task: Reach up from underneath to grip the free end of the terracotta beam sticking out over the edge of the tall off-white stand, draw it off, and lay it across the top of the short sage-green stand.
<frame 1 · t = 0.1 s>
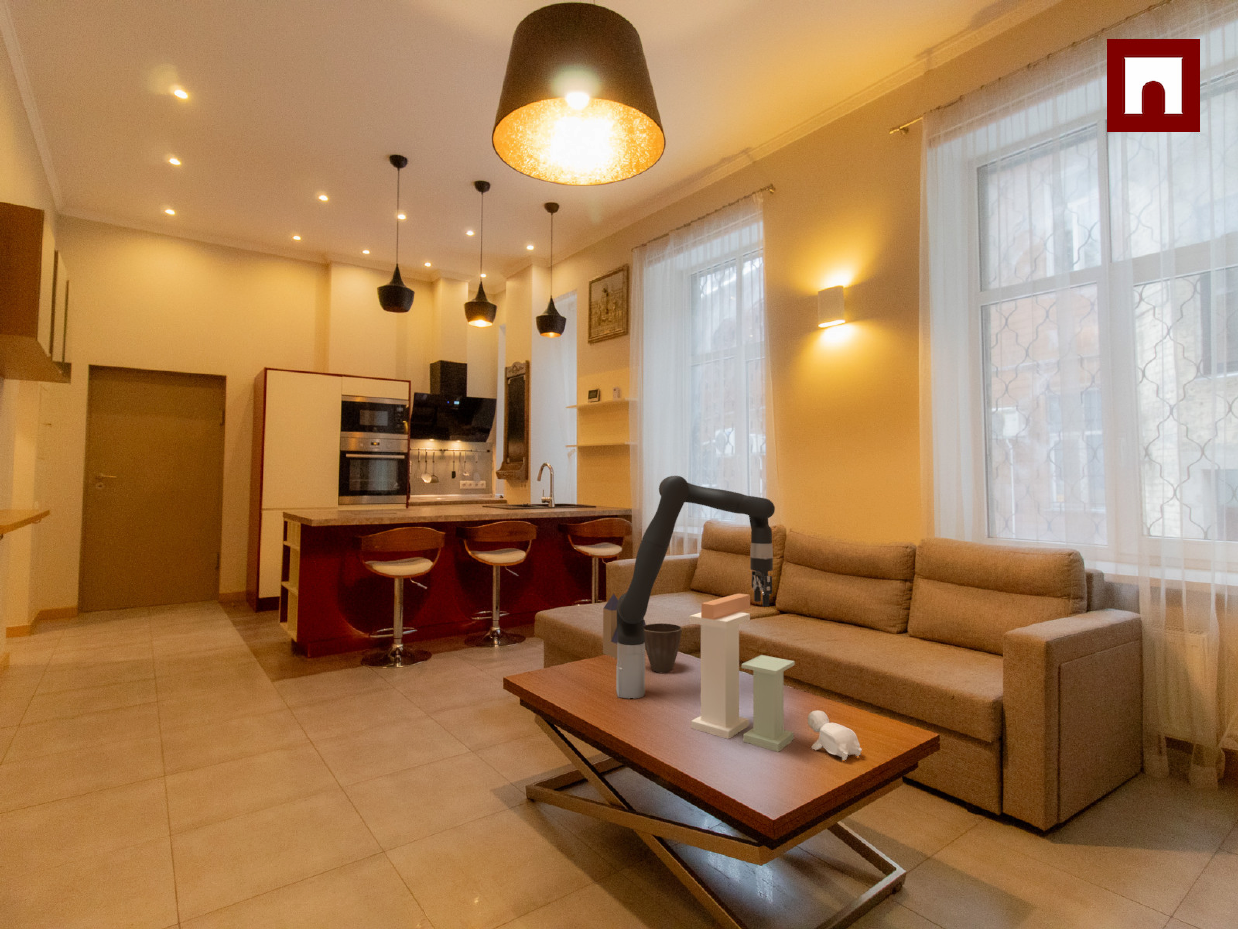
hand: (761, 604, 208), 29 cm above the table, tool pointing down, fingers open, 8 cm apart
short stand: (768, 740, 166), on the table
white turtle figurine: (831, 751, 160), on the table
toy building blocks: (630, 654, 253), on the table
tall stand: (720, 727, 175), on the table
plant pot: (661, 670, 230), on the table
beam: (726, 612, 179), point 32 cm above the table, touching tall stand
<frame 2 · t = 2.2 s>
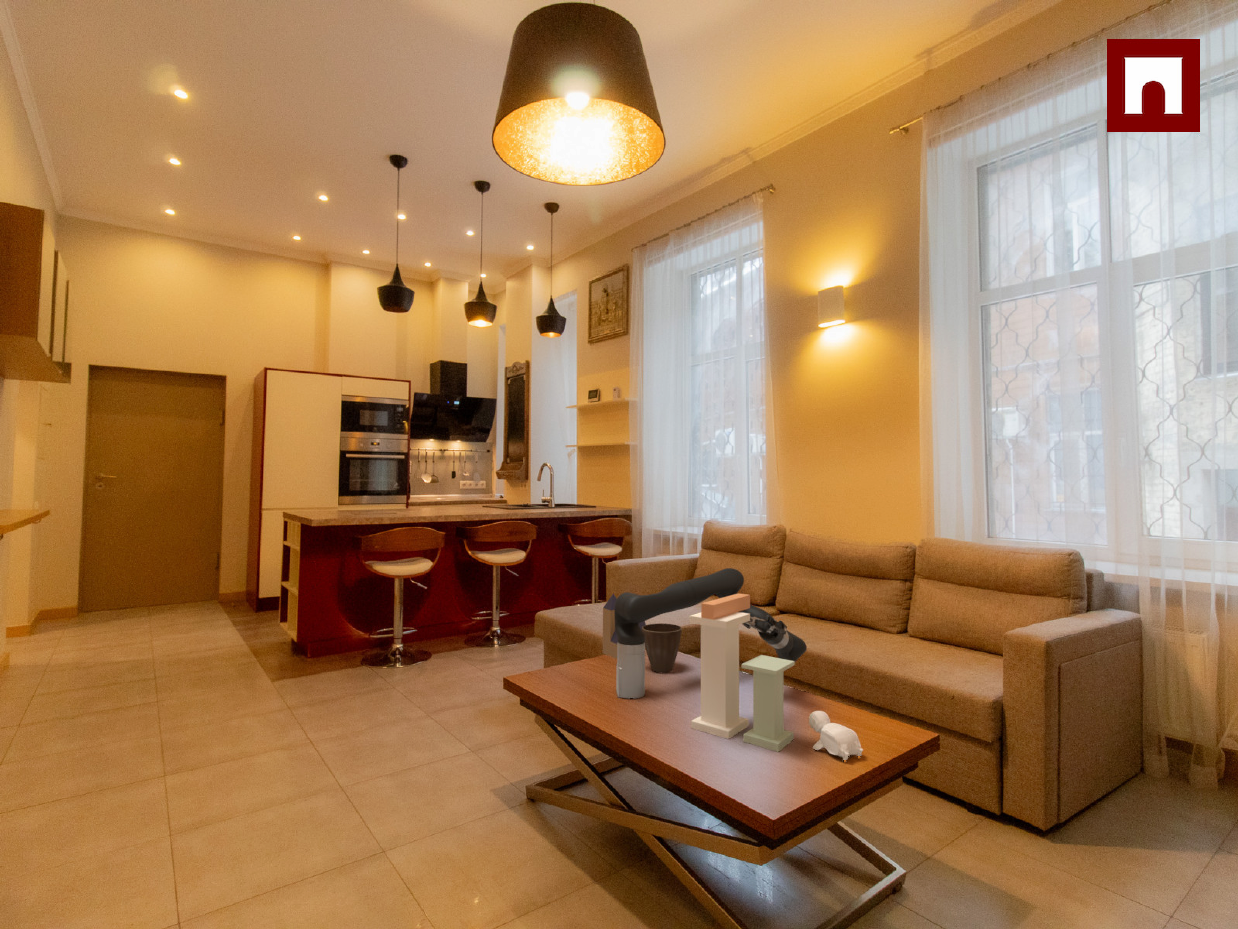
hand: (754, 616, 193), 28 cm above the table, tool pointing upward, fingers open, 8 cm apart
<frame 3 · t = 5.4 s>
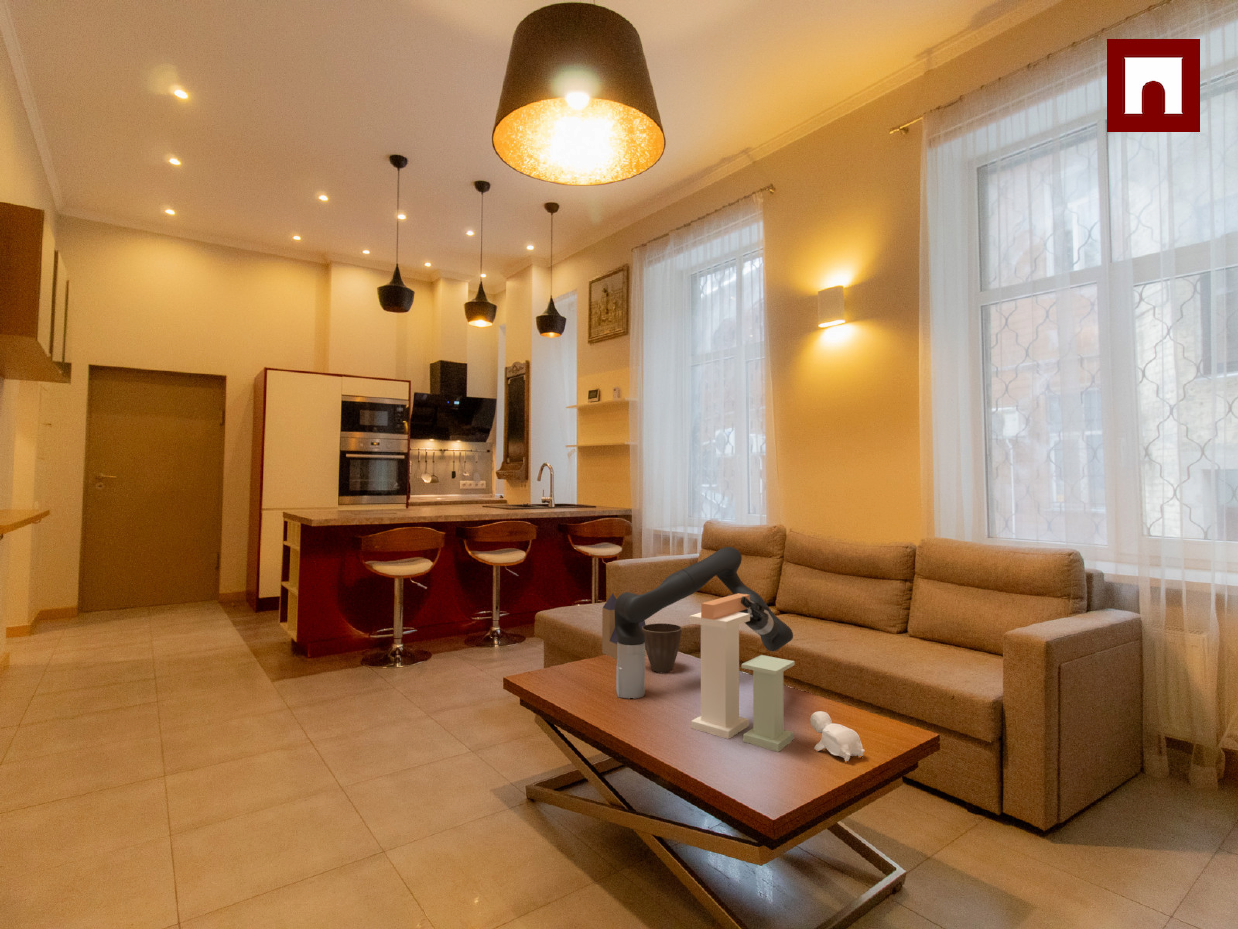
hand: (735, 598, 184), 35 cm above the table, tool pointing upward, fingers closed on beam, 4 cm apart
beam: (726, 612, 179), point 32 cm above the table, touching gripper, tall stand
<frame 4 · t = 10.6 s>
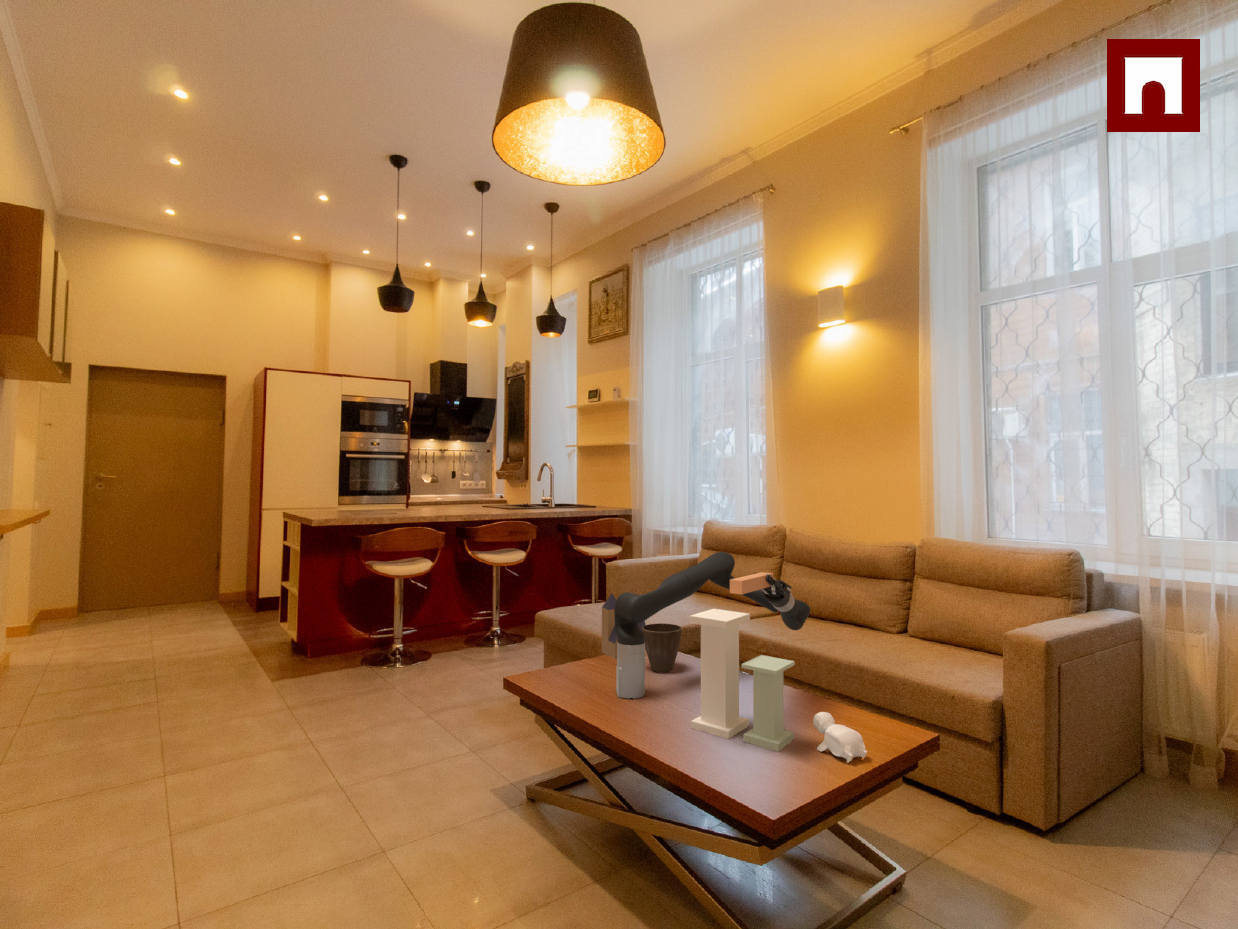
hand: (760, 576, 195), 41 cm above the table, tool pointing upward, fingers closed on beam, 4 cm apart
beam: (752, 589, 191), point 37 cm above the table, touching gripper
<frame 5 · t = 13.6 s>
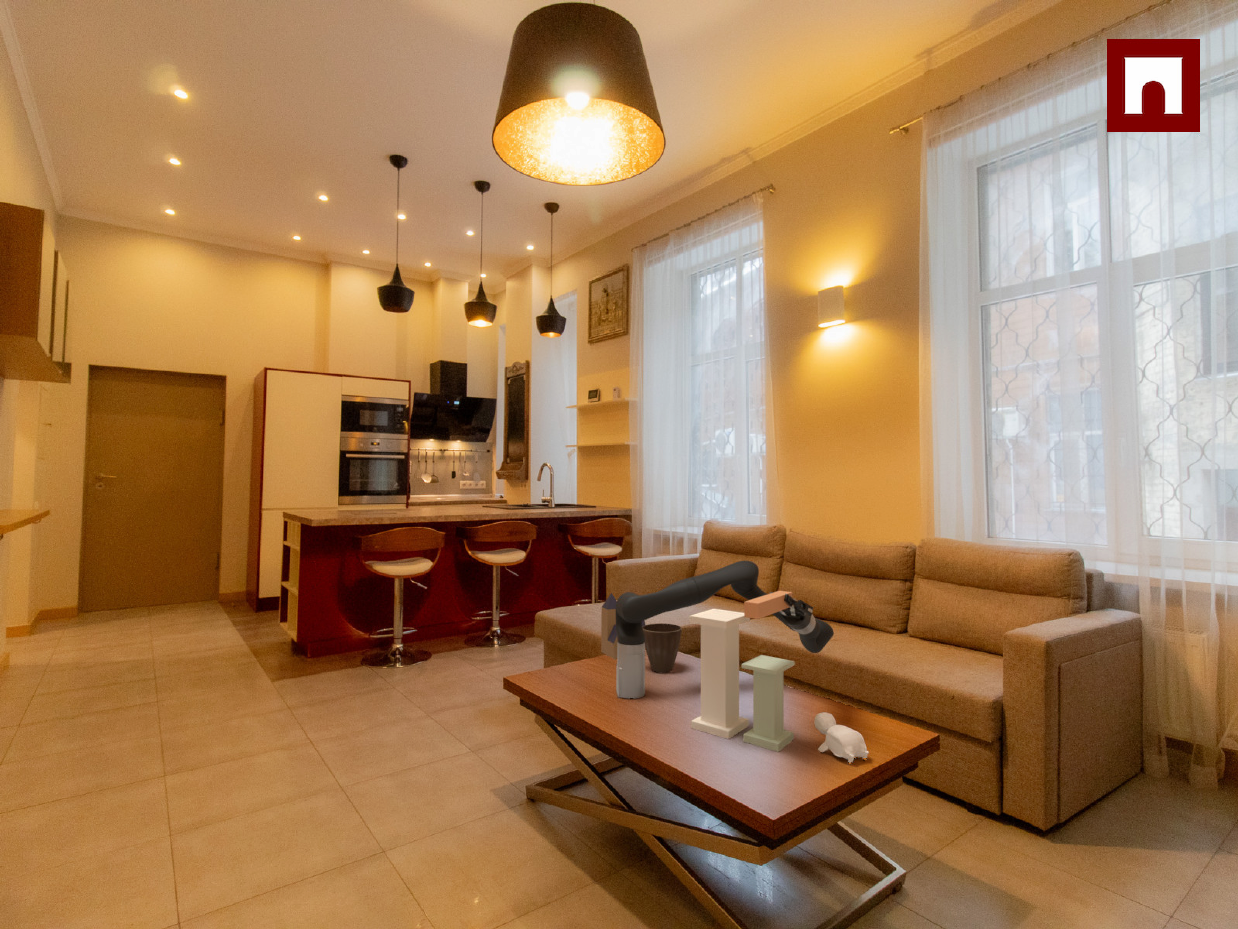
hand: (778, 596, 172), 38 cm above the table, tool pointing upward, fingers closed on beam, 4 cm apart
beam: (769, 611, 168), point 35 cm above the table, touching gripper
when the fingers open (26 cm above the table, at t = 16.1 s): beam drops 1 cm, resting on short stand.
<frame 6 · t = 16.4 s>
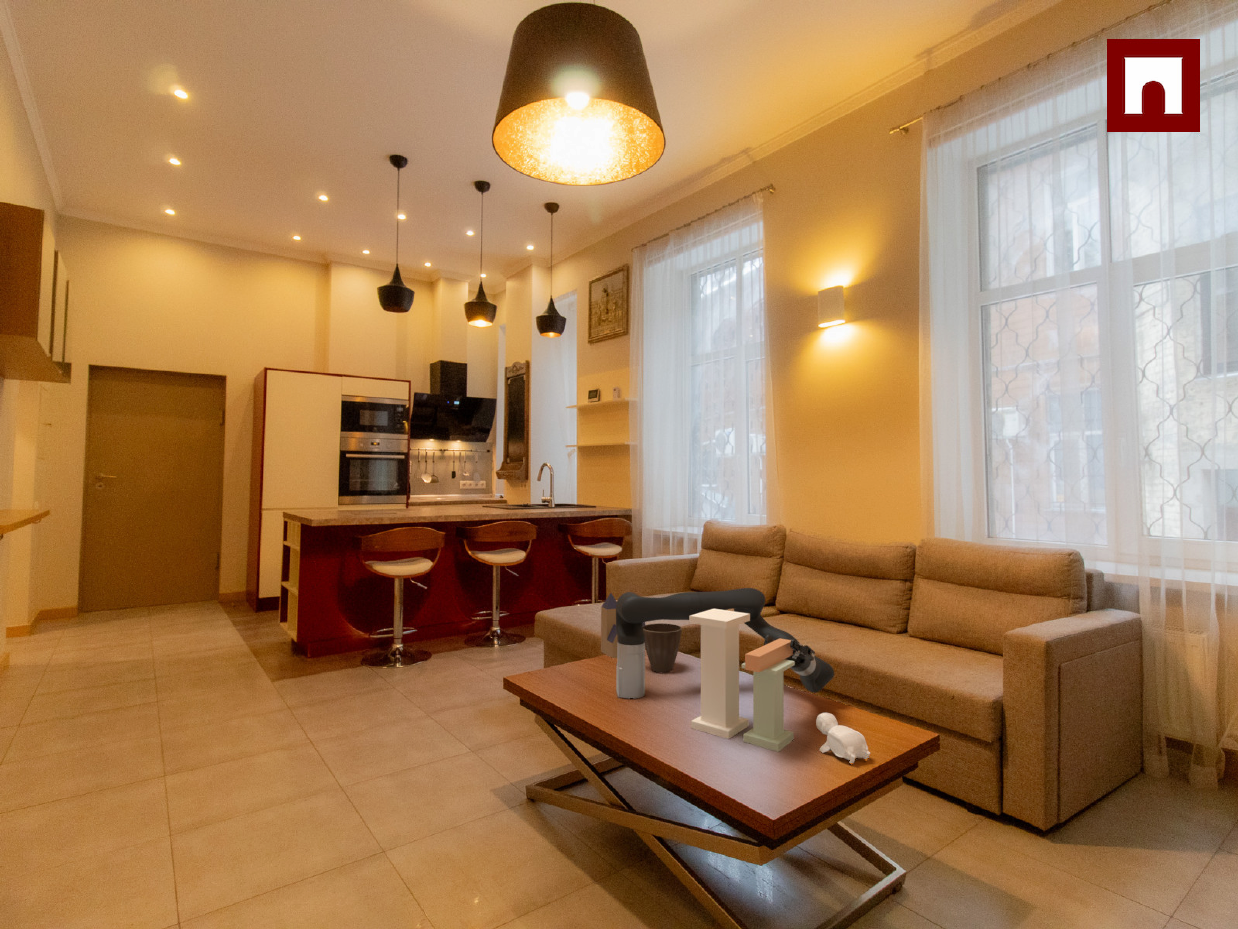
hand: (779, 640, 172), 26 cm above the table, tool pointing upward, fingers open, 7 cm apart
beam: (770, 661, 167), point 21 cm above the table, touching short stand
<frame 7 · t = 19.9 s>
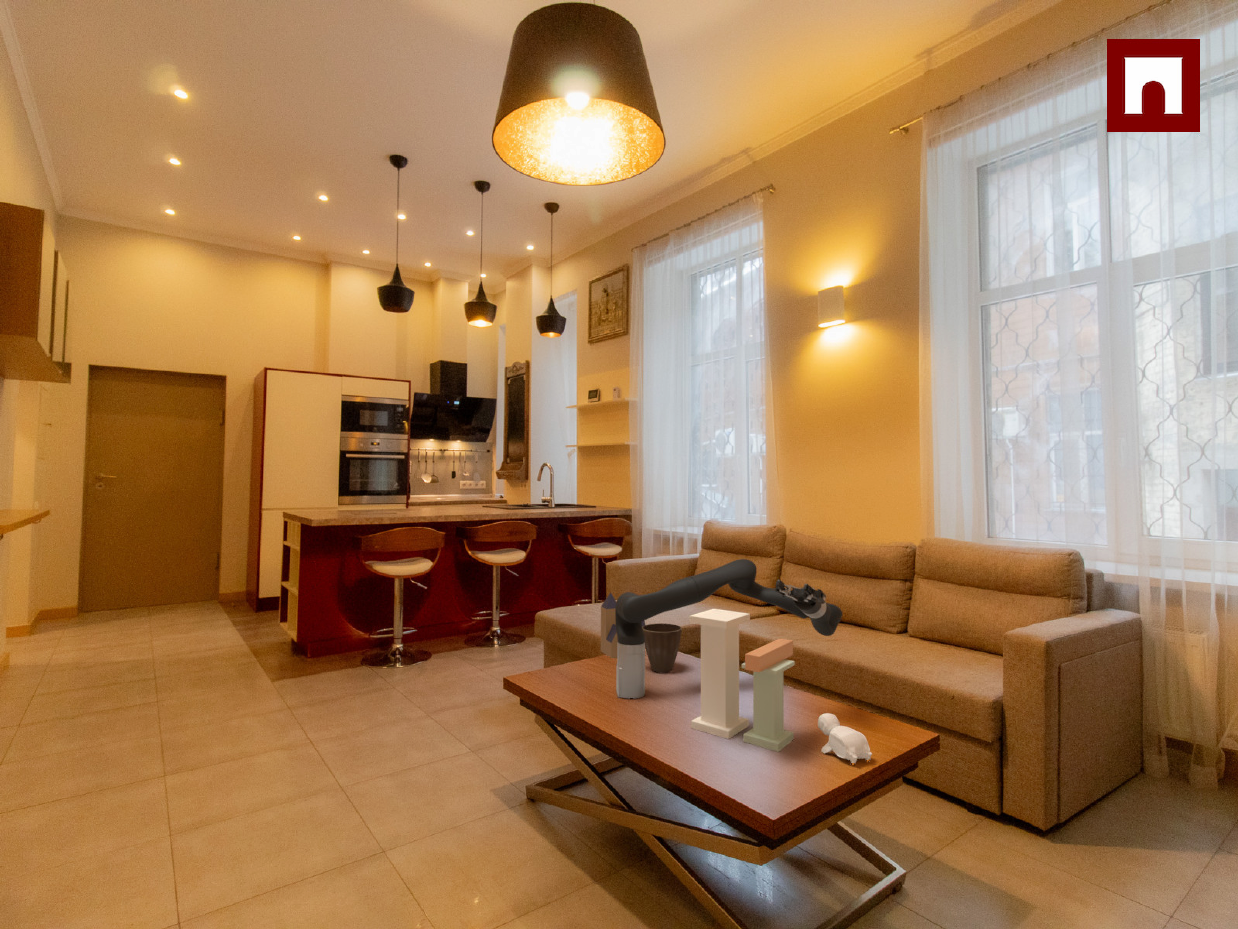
hand: (791, 584, 180), 40 cm above the table, tool pointing upward, fingers open, 8 cm apart
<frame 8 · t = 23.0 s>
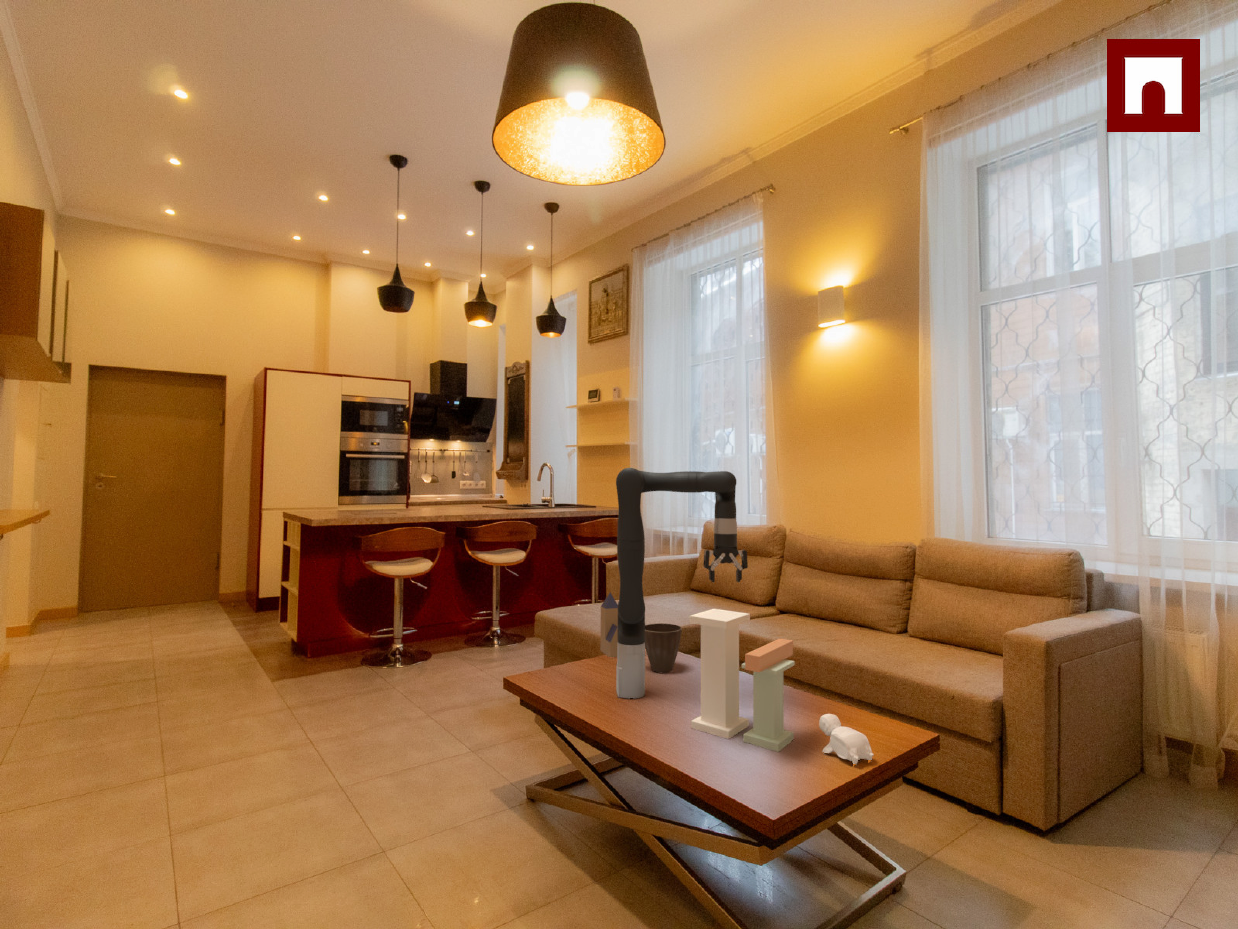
hand: (725, 581, 199), 38 cm above the table, tool pointing down, fingers open, 8 cm apart
at the end: beam inside the target area on the short stand (0.4 cm from its centre), point 21.0 cm above the short stand's base; the gripper is holding nothing; beam tilted 0° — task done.
